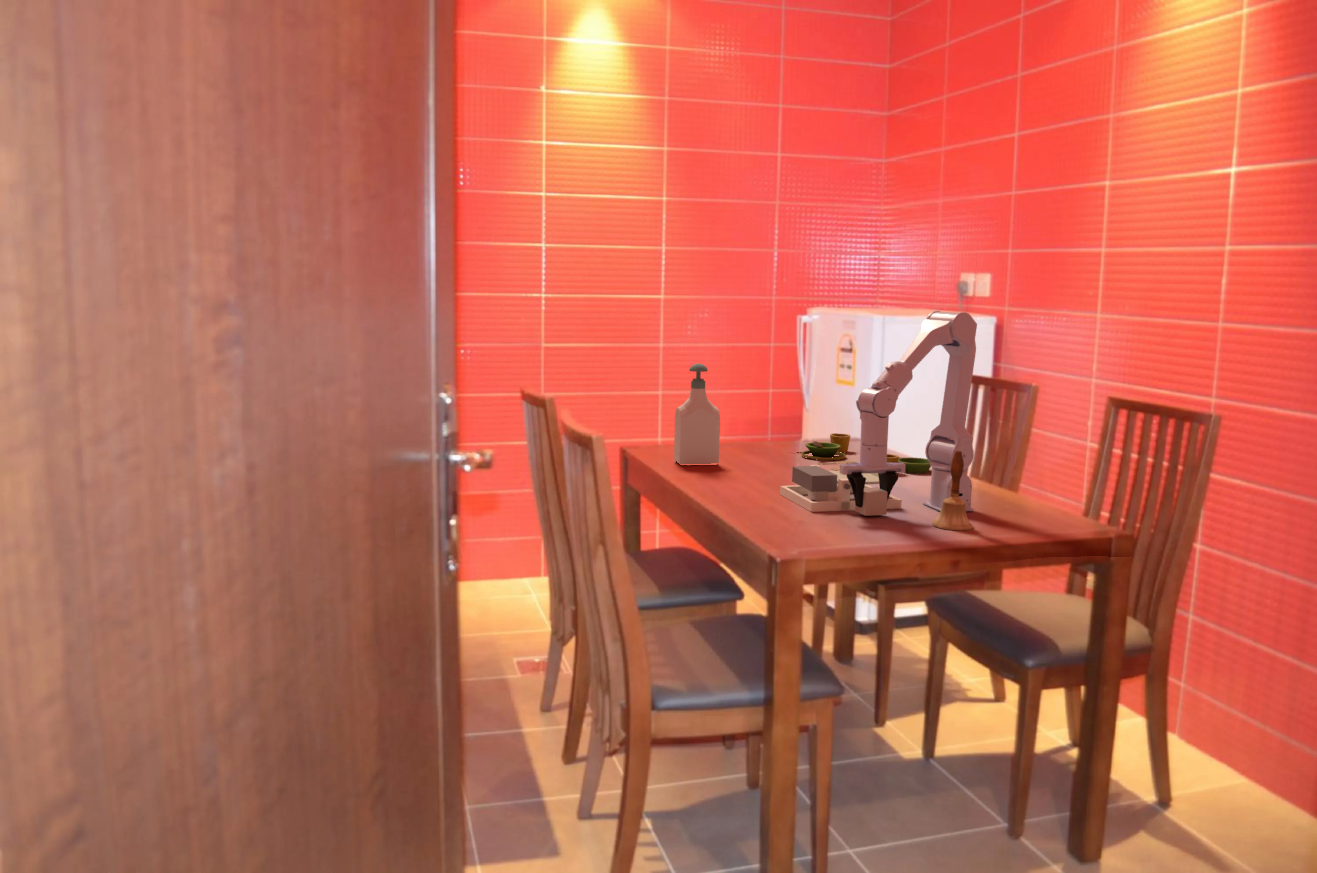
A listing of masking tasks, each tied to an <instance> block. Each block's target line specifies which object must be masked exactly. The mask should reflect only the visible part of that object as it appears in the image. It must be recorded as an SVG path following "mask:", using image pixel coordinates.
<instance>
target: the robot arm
mask: <svg viewBox="0 0 1317 873" xmlns="http://www.w3.org/2000/svg"><path fill="white" fill-rule="evenodd" d="M920 326H921V327H920V328H921V329H920V331H919V333H918V334H917V335H916V336H915V338H914V340H913V341H912V342H911V344H910V345H909V346H908V348H907V349H906V351H905V352H904V354H903V355H902V356H901V358H900V359H899V360H897V361H896V360H895V361H891V362H890V363H887V364H886V365H885V367H884V369H885V370H883V371H882V373H881V375H879V377H878V378H877V379H876V380H875V381H873V382H872V385H871V386H870V387H868V388H865V389H863V390H862V391H861V392H860V394H859V396H858V399H857V400H855V405H856V409H857V410H858V412H859V420H860V421H861V424H860V444H859V445H860V446H859V447H860V449H859V462H857V463H846V464H839V468H840V474H843V475H847V478H848V480H849V482H850V485H851V487H852V490H853V493H852V494H853V498H854V500H855V505H856V506H857V507H862V506H863V492H864V486H865V482H866V478H865V477H863V475H862V474H863V473H878V476H879V484H878V486H879V488H880V489H882V490H884V491H887V501H888V498H889V495H891V493H892V490H893V488H894V486H895V484H896V483H897V482H898V480H899V474H897V473H900V474H905V473H906V472H905V466H906V464H904V463H888V462H887V454H888V442H889V440H888V438H889V418H890V415H891V414H892V413H893V412H894V411H895V410H896V406H897V401H898V399H899V396H900V394H902V392H903V391H904V390H905V389H906V387H907V385H909V384H910V382H911V381H913V376H914V375H913V370H914V369H915V368H916V367H917V366H918V365H919V364H920V363H921V362H922V361H923V360H924V358H925V357H927V355H928V354H930V352H931V351H932V350H933V349H934V348H935V347H937V346H941V347H943V349H944V350H945V351H946V352H947V353H948V356H949V357H948V364H947V372H946V378H945V386H944V392H943V400H942V406H941V413H940V421H939V422H940V423H939V424H938V425H937V426H936V427H935V428H933V429H932V430H931V432H930V437H929V440H928V442H927V443H926V445H925V457H926V459H928V461H929V462H930V466H931V467H930V468H931V477H930V478H931V480H930V495H929V496H930V497H929V500H927V501H926V500H925V501H922V502H921V503H922V504H923V505H925V506H927V507H930V508H932V509H934V510H936V511H938V512H941V509H942V505H943V501H944V500H945V499H947V498H949V497H950V494H951V487H952V476H951V462H952V459H953V456H954V454H955V451H962V457H963V461H964V468H963V473H962V476H961V479H960V487H959V498H960V499H961V500H963V501H964V502H965V509H966V512H974V511H975V509H974V508H972V506H971V504H972V490H973V489H972V488H973V483H972V482H973V481H972V480H971V478H970V477H969V476H968V474H967V473H966V471H968V468H969V467H970V466H971V465H972V462H973V460H974V456H975V455H974V454H975V453H974V448H973V440H974V437H973V436H972V434H971V433H970V432H969V430H968V429H967V428H966V423H967V418H968V408H969V403H970V402H969V401H970V395H971V388H972V382H973V381H972V380H973V373H974V366H975V362H976V361H975V360H976V354H977V344H976V336H977V328H978V323H977V322H976V320H975V319H974V317H972V315H971V314H970V313H968V312H964V311H963V312H962V311H961V312H955V311H954V312H953V311H940V310H934V311H931V312H930V313H929V314H928V315H927V316H926V318H925V319H924V320H923V321H922V322H921V325H920ZM866 470H870V471H866Z"/></svg>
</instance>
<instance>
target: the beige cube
mask: <svg viewBox="0 0 1317 873" xmlns="http://www.w3.org/2000/svg"><path fill="white" fill-rule="evenodd" d="M887 510H888V509H887V491H884V490H882V489H880V487H877V486H876V487H873V486H872V488H864V492H863V506H862V507H857V506H856V505H855V510H854V511H855V512H857V513H859V514H861V515H863V516H886V515H887Z"/></svg>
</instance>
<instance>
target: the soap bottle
mask: <svg viewBox="0 0 1317 873" xmlns="http://www.w3.org/2000/svg"><path fill="white" fill-rule="evenodd" d="M689 372H695V378H692V380H691V381H690V391H689V396H688V398H687V399H686V400H685V402H683V404H680V405H679V406H677V407H676V409H675V415H674V437H673V438H674V440H673V443H674V446H673V461H674V460H675V461H677V462H678V463H679V464H711V463H720V439H721V438H720V437H721V436H720V434H721V433H720V430H721V429H720V428H721V427H720V426H721V416H720V410H719V408H718V407H717V406H716V405H715V404H713V403H712V402H711V401H710V399H709V398H708V396H707V393H706V391H707V390H706V380H705V379H704V378H702V377H701V373H702V372H708V367H707V366H706V365H705V364H702V363H695V364H693V365H691V366H690V367H689ZM675 461H674V462H675ZM679 464H678V465H679Z"/></svg>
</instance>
